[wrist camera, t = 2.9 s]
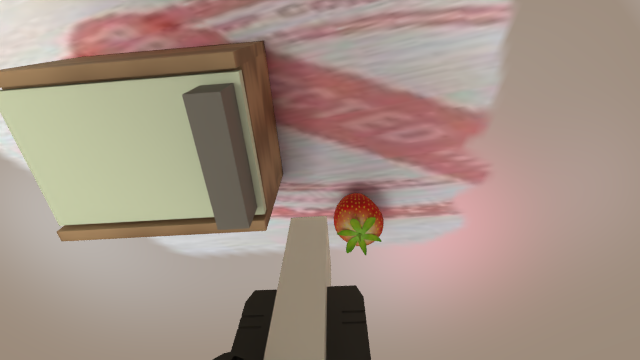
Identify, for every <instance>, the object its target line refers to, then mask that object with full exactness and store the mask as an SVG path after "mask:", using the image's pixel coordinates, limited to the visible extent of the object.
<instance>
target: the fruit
mask: <svg viewBox="0 0 640 360" xmlns="http://www.w3.org/2000/svg"><path fill="white" fill-rule="evenodd" d="M334 225H335V229H336V231H337V234H338V235H339V236H340V237H341V238H342V239H343V240H345V241H346V242H348V243H347V247H346V252H347V253H349V252H351V251H352V250H353V249H354V247H355V245H356V246H360V247H361V249H362V251H363V252H364V254H365V255H366V251H367V250H366V245H369V244H371V243H372V242H374V241H380V242H381V240H380V238H379V236H380V234H381V233H382V230H383V217H382V214H381V212H380V210H379V209H378V207H377V206H376V205H375V203H374V202H373V201H372V200H370V199H369V198H368V197H366V196H365V195H363V194H359V193H353V194H349V195H347V196H345V197H344V198H343V199H342V200H341V201H340V202H339V204H338V205H337V207H336V210H335V213H334Z"/></svg>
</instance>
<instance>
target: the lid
mask: <svg viewBox="0 0 640 360" xmlns="http://www.w3.org/2000/svg"><path fill="white" fill-rule="evenodd" d="M0 112H1V114H2V116H3V118H4V120H5V122H6V124H7V126H8V128H9V130H10V132H11V134H12V136H13V137H14V139H15V141H16V143H17V145H18V147H19V149H20V151H21V153H22V155H23V157H24V159H25V161H26V162H27V164H28V166H29V168H30V170H31V172H32V174H33V176H34V178H35V180H36V182H37V184H38V185H39V187H40V189H41V191H42V193H43V195H44V197H45V199H46V200H47V203H48V205H49V206H50V209H51V211H52V212H53V214H54V216H55V218H56V220H57V222H58V224H59V226H61V225H79V224H97V223H115V222H133V221H151V220H169V219H187V218H205V217H214V218H215V221H216V225H217V229H218V230H228V229H247V228H250V226H251V223H252V220H253V218H254V215H260V214H265V212H266V204H265V198H264V193H263V187H262V182H261V176H260V170H259V165H258V159H257V154H256V148H255V143H254V137H253V131H252V126H251V120H250V115H249V109H248V104H247V98H246V92H245V87H244V81H243V76H242V70H234V71H222V72H209V73H197V74H185V75H173V76H161V77H149V78H137V79H125V80H113V81H101V82H88V83H76V84H64V85H52V86H40V87H28V88H16V89H4V90H0Z"/></svg>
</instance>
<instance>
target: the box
mask: <svg viewBox="0 0 640 360" xmlns="http://www.w3.org/2000/svg"><path fill="white" fill-rule="evenodd" d="M234 70H242V76H243V81H244V87H245V92H246V98H247V104H248V109H249V115H250V120H251V126H252V131H253V137H254V143H255V148H256V154H257V159H258V165H259V170H260V176H261V182H262V187H263V193H264V198H265V204H266V212H265V214H260V215H254V218H253V220H252V223H251V226H250V228H247V229H228V230H218V229H217V225H216V221H215V218H214V217H205V218H187V219H169V220H151V221H133V222H115V223H97V224H79V225H65V226H63V227H62V228H61V229H60V230H58V231H57V234H58V235H59V237H60V239H61V241H78V240H96V239H114V238H115V239H116V238H134V237H154V236H173V235H192V234H211V233H230V232H250V231H266V230H267V226H268V223H269V219H270V216H271V213H272V209H273V206H274V203H275V199H276V196H277V193H278V189H279V186H280V183H281V179H282V176H283V171H282V164H281V157H280V150H279V143H278V136H277V129H276V122H275V116H274V109H273V102H272V95H271V88H270V81H269V74H268V67H267V61H266V54H265V47H264V41H256V42H244V43H233V44H222V45H210V46H199V47H187V48H176V49H165V50H153V51H142V52H130V53H119V54H108V55H96V56H85V57H78V58H71V59H65V60H59V61H52V62H46V63H40V64H34V65H27V66H21V67H15V68H9V69H2V70H0V88H1V87H2V89H3V90H4V89H16V88H28V87H40V86H52V85H64V84H76V83H88V82H101V81H113V80H125V79H137V78H149V77H161V76H173V75H185V74H197V73H209V72H222V71H234Z"/></svg>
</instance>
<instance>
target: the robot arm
mask: <svg viewBox="0 0 640 360" xmlns="http://www.w3.org/2000/svg"><path fill="white" fill-rule="evenodd" d="M213 360H371V356H370V348H369V340H368V332H367V324H366V315H365V306H364V298H363V296H362V294H361V293H360V291H359V290H358V288H357V286H334V287H333V286H331V262H330V250H329V238H328V226H327V216H317V217H299V218H291V222H290V227H289V232H288V237H287V243H286V248H285V253H284V258H283V263H282V268H281V273H280V278H279V284H278V288H277V290H256V291H254V292H253V294H252V295H251V296H250V297H249V299H248V300H247V301H246V303H245V306H244V309H243V313H242V318H241V319H240V323H239V327H238V330H237V333H236V336H235V340H234V343H233V346H232V350H231V352H228V353H224V354H222V355H220V356H218V357H217V358H215V359H213Z"/></svg>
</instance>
